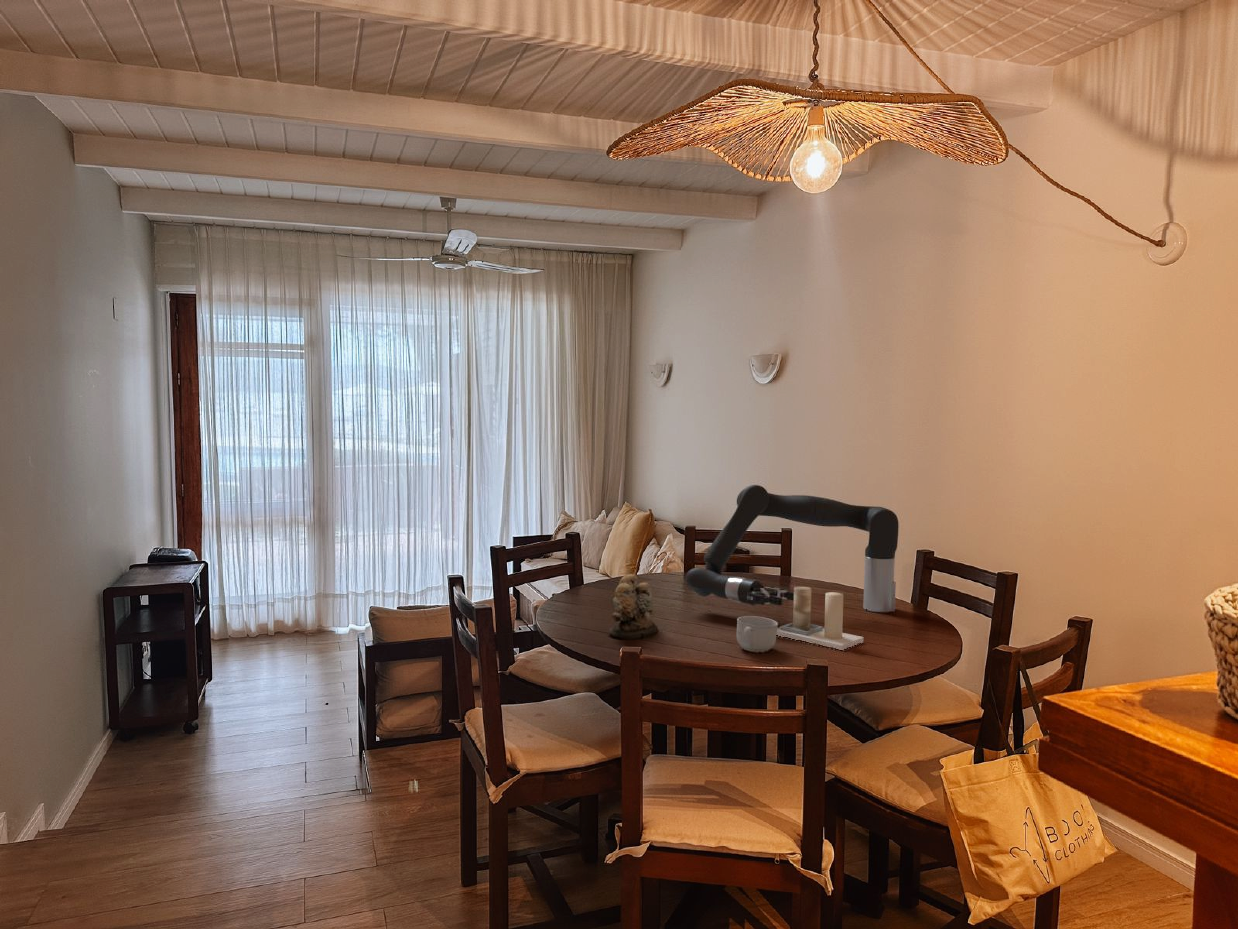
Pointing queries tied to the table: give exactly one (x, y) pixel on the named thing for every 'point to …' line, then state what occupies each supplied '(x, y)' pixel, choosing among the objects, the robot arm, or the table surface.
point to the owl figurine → (633, 610)
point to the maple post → (802, 608)
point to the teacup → (756, 633)
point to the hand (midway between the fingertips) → (790, 599)
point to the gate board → (823, 640)
